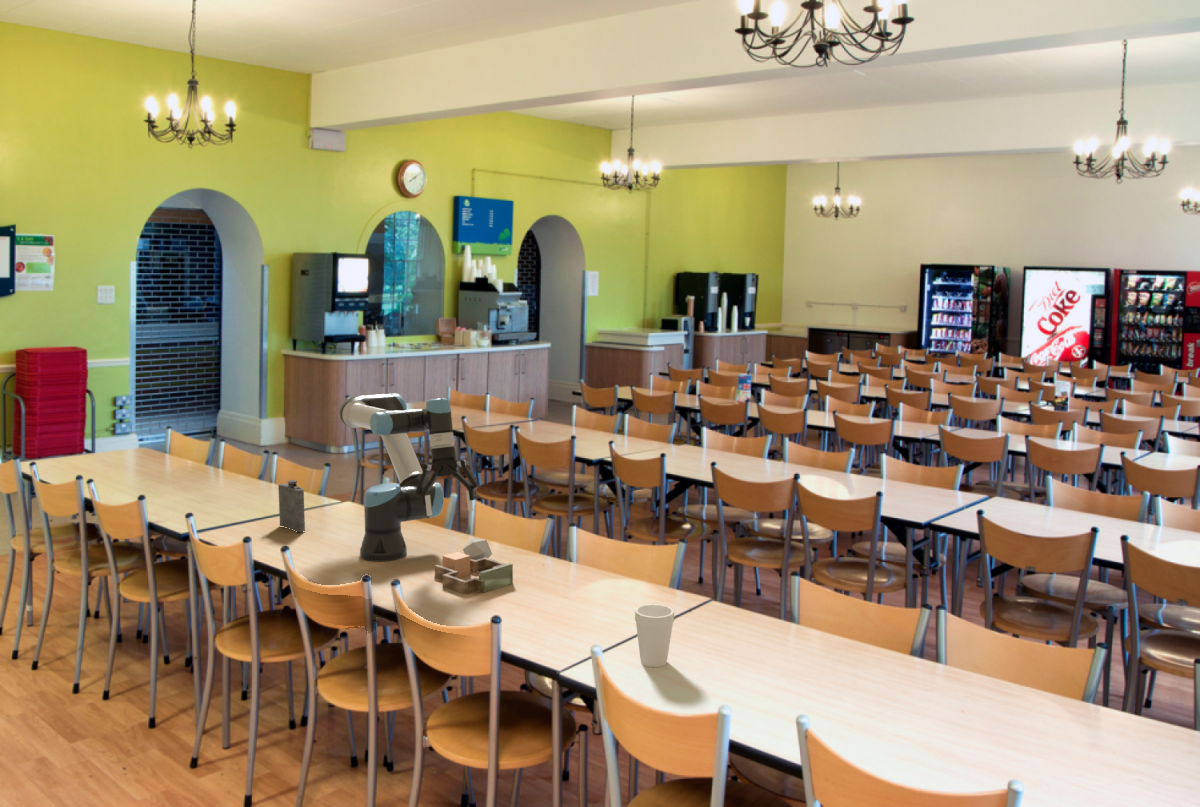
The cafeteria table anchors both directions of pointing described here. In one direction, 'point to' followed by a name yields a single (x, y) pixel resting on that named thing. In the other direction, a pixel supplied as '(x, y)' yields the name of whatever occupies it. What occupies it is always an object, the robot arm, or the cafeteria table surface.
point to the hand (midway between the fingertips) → (450, 513)
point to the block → (457, 563)
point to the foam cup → (654, 633)
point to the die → (477, 549)
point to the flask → (291, 506)
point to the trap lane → (489, 576)
